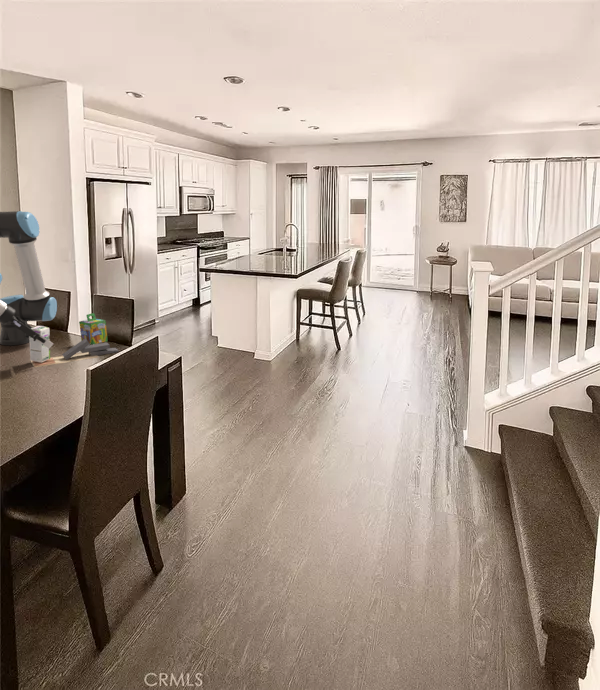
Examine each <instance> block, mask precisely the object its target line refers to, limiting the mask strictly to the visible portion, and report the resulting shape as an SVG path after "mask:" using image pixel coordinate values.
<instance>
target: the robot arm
mask: <svg viewBox="0 0 600 690" xmlns="http://www.w3.org/2000/svg"><path fill="white" fill-rule="evenodd" d="M39 234H40V225H39V222H38V220H37V218H36V216H35V215H34V214H33V213H32V212H29V211H22V210H20V211H19V210H17V211H16V210H15V211H14V210H13V211H0V238H1V239H2V238H7V239H8V243H9V244H11V245H12V246H13V248H14V251H15V254H16V259H17V263H18V266H19V270H20V274H21V278H22V281H23V286H24V289H25V294H24V295H23V294H14V295H8V296H4V297H2V298H0V326H1V327H0V328H1V330H0V345H2V346H18V345H24V344H28V343H29V344H30V340H29V336H30V337H32V338H33V339H34V340H33V341H36V340H37V341H38V342H40V343H41V344H43V345H44V346H46V347H47V348H49V349H50V350H51V348H52V346H53V345H54V343H53V342H52V341H51V340H50V341H49V340H47V339H46V338H44V337H43V336H41V335H39V334H38V333H36V332H35V331H33V330H32V329H31V328H33V326H31V325H30V324H28V322H47V321H52V320H53V319H55V317H56V315H57V311H58V301H57V299H56V298H55V297H52V296H51V293H50V291H48V290H46V287H45V283H44V279H43V274H42V270H41V265H40V262H39V259H38V254H37V250H36V245H35V242H36V241H37V237H39V236H40V235H39ZM2 281H3V275H2V273H1V272H0V284H1V283H2Z"/></svg>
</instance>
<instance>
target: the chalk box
mask: <svg viewBox="0 0 600 690" xmlns="http://www.w3.org/2000/svg"><path fill="white" fill-rule="evenodd" d="M90 317H92V318H90ZM78 324H79V330H80V340H81V341H82V340H84V339H85V338H86V339H87V341H88V342H89V343H90V344H89V345H94V344H100V343H106V342H107V343H108V331H107V322H106V320H105V319H100V318H96V314H95V313H88V314H86V319H84V320H80V321H79V322H78ZM81 341H80V342H81Z"/></svg>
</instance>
